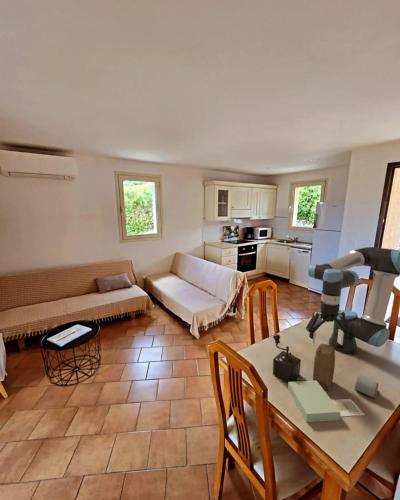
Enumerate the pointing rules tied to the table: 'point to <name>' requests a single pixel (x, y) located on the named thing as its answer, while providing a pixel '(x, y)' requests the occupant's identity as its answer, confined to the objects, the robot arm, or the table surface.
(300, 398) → the baseplate
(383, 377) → the table surface
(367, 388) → the grey cylinder
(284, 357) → the dark brown coffee grinder
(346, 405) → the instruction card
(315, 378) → the block
